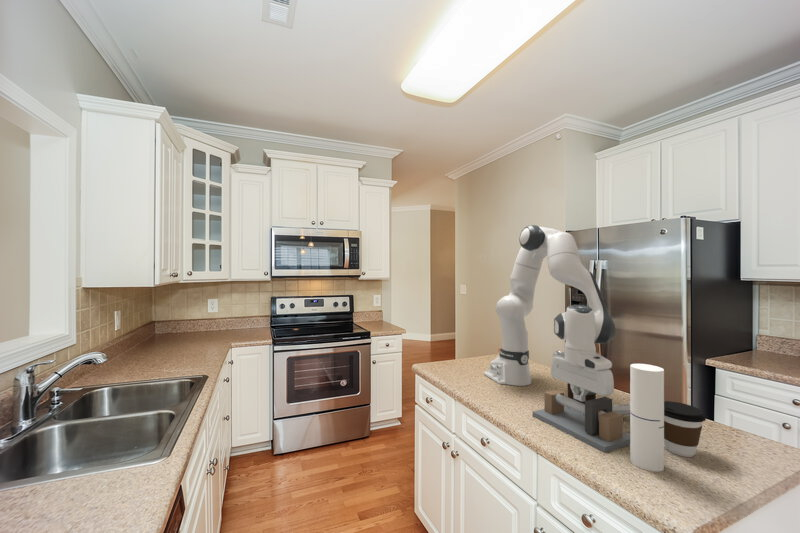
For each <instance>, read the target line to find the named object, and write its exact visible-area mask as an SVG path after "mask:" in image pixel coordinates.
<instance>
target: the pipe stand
mask: <svg viewBox="0 0 800 533" xmlns="http://www.w3.org/2000/svg"><path fill="white" fill-rule="evenodd" d="M532 417H534V418H536V419H538V420H540V421H541V422H544V423H546V424H548V425H550V426H551V427H553V428H555V429H557V430H560V431H562V432H563V433H566V434H567V435H569V436H571V437H573V438H575V439H577V440H579V441H581V442H583V443H585V444H586V445H589V446H591V447H593V448H595V449H597V450H598V451H601V452H602V453H608V452H611V451H614V450H617V449H620V448H623V447H626V446H630V433H627V432H625V431H623V423H624V422H623V415H621V414H618V413H616V412H613V411H612V412H608V413H606V412H604V411H602V410H601V411H598V421H599V433H597V434H593V435H592V434H590V433H588V432H585V404H583V403H581V402H578V401H576V400H573V399H571V398H568V396H565V392H563V391H562V390H561V391H560V390H558V389H554V390H548V391H545V392H544V408H542V409H538V410H534V411H533V410H532Z"/></svg>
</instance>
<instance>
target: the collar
mask: <svg viewBox="0 0 800 533" xmlns="http://www.w3.org/2000/svg"><path fill="white" fill-rule="evenodd" d="M612 405H613V398H610V397H608V396H602V397H596V399H592V400H588V401H585V432H588V433H590V434H592V435H593V434H597V433H599V421H598V411H601V410H602V411H604V412H606V413H608V412H612Z"/></svg>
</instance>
